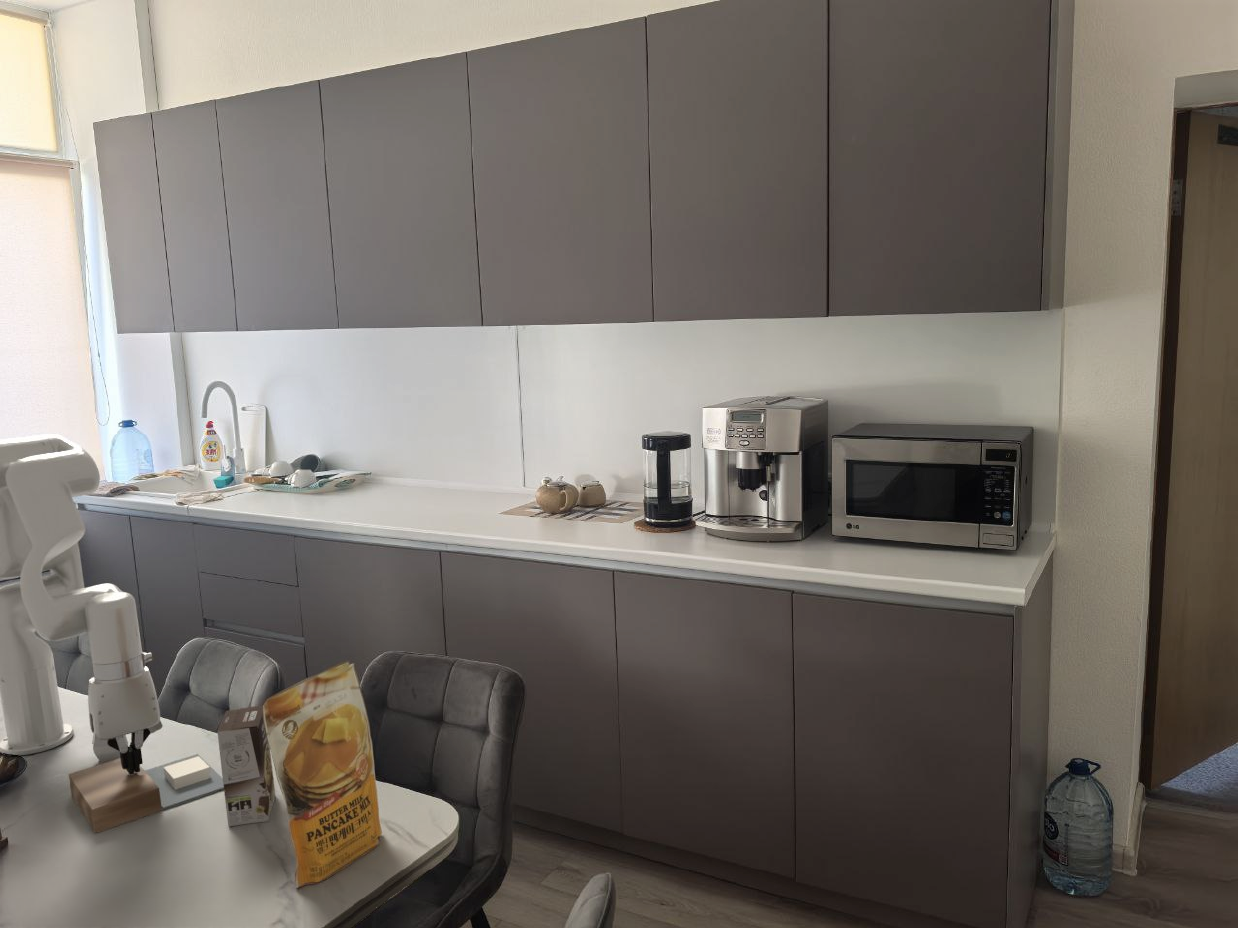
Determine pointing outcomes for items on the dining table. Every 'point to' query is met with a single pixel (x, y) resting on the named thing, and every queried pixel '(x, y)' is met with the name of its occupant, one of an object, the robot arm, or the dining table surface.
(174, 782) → the cream square block
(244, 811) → the coffee box
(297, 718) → the pancake mix bag
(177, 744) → the dining table surface
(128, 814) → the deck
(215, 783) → the mat
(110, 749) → the salt shaker
